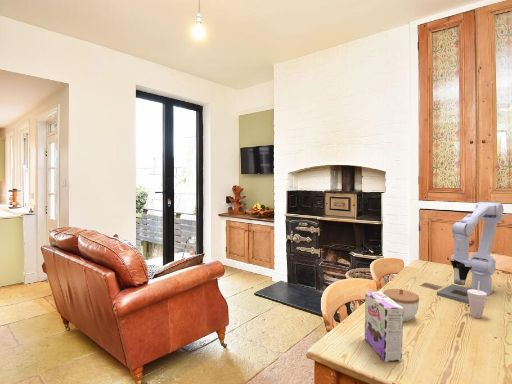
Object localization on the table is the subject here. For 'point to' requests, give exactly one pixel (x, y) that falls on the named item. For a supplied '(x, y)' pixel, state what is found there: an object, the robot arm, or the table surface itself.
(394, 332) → the candy box
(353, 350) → the table surface
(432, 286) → the tab
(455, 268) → the steel peg
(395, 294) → the lidded bowl
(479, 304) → the smoothie
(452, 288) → the hole plate
